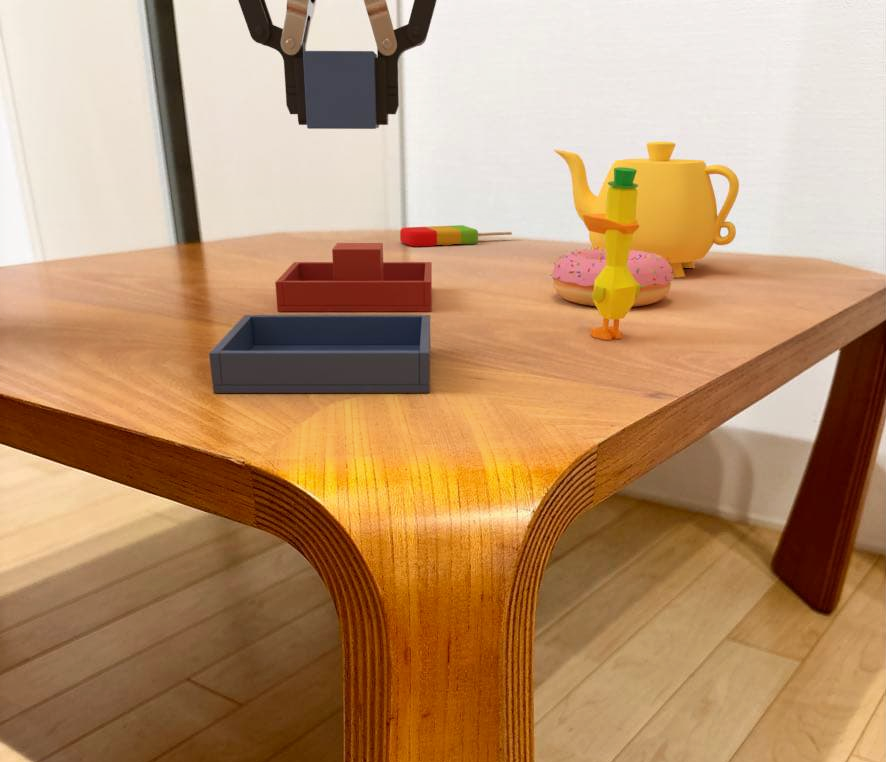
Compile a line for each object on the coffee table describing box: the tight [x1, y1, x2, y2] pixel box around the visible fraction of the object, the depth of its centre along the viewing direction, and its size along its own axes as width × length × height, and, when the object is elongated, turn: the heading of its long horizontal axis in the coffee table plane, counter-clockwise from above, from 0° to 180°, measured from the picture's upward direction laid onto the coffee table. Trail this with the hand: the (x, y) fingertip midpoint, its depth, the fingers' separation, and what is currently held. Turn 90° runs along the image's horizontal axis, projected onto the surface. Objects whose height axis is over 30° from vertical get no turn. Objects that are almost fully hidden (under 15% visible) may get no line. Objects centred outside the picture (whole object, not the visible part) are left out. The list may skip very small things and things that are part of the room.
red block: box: [331, 242, 384, 281], centre depth 82 cm, size 4×4×4 cm
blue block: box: [303, 50, 380, 130], centre depth 57 cm, size 4×4×4 cm
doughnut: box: [549, 247, 675, 308], centre depth 83 cm, size 11×11×4 cm
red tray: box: [274, 261, 433, 313], centre depth 83 cm, size 13×11×2 cm
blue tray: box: [208, 314, 431, 394], centre depth 60 cm, size 13×11×2 cm
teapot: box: [553, 141, 740, 278], centre depth 97 cm, size 14×20×13 cm
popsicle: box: [399, 224, 513, 248], centre depth 119 cm, size 6×15×2 cm, turn 110°
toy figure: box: [583, 167, 641, 341], centre depth 67 cm, size 7×4×12 cm, turn 27°
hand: (343, 123), depth 57 cm, fingers closed on blue block, 4 cm apart
